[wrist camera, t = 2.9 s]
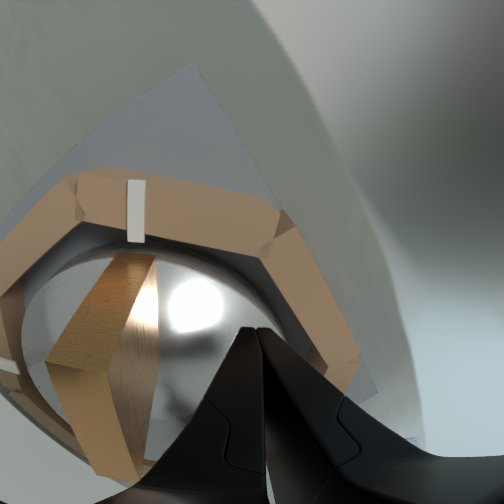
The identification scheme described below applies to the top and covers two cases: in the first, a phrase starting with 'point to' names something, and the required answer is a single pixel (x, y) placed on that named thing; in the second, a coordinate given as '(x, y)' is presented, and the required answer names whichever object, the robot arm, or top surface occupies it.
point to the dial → (135, 345)
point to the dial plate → (169, 229)
